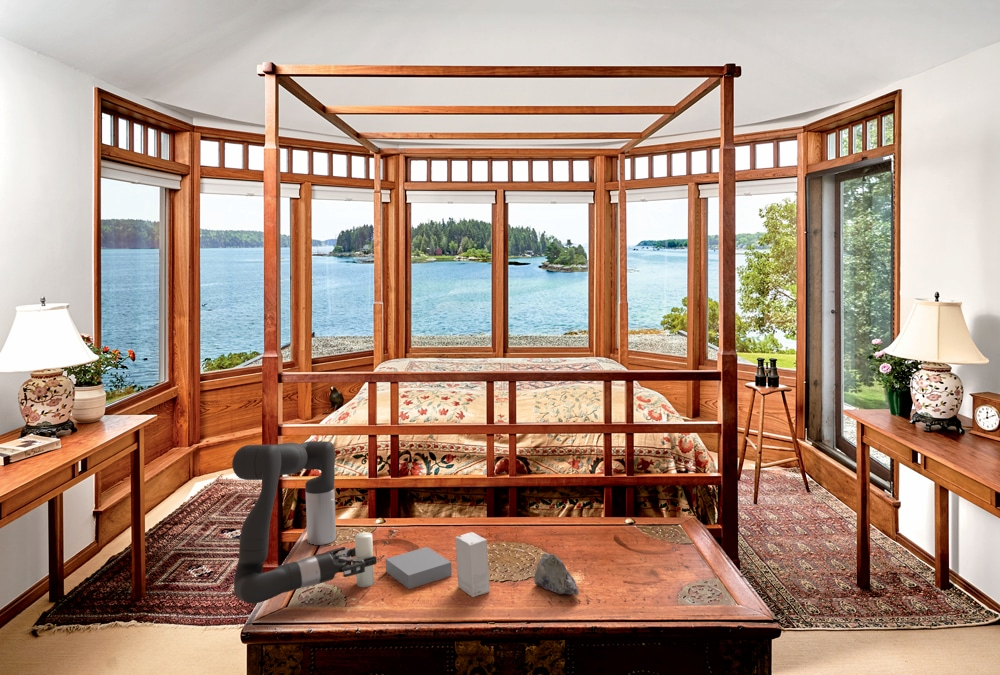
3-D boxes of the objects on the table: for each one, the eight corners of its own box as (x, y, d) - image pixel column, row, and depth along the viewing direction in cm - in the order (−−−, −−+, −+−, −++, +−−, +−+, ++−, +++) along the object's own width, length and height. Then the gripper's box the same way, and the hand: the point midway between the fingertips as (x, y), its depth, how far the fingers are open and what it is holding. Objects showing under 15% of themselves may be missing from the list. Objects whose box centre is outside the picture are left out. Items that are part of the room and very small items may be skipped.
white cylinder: (353, 582, 186) (352, 535, 185) (369, 577, 189) (367, 530, 188) (361, 588, 182) (359, 540, 181) (376, 583, 185) (375, 536, 184)
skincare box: (490, 592, 179) (489, 540, 178) (471, 598, 176) (470, 545, 174) (474, 581, 186) (473, 530, 185) (455, 586, 183) (454, 535, 181)
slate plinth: (386, 571, 193) (385, 558, 192) (427, 559, 201) (427, 546, 201) (408, 589, 181) (408, 575, 181) (451, 575, 190) (451, 562, 189)
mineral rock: (580, 601, 174) (580, 565, 173) (540, 604, 172) (540, 567, 171) (569, 579, 186) (569, 545, 185) (532, 582, 185) (532, 547, 184)
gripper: (323, 565, 170) (380, 549, 180) (304, 548, 182) (358, 534, 191) (324, 593, 171) (380, 576, 180) (305, 574, 182) (359, 558, 192)
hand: (369, 554), depth 186 cm, fingers open, 8 cm apart
